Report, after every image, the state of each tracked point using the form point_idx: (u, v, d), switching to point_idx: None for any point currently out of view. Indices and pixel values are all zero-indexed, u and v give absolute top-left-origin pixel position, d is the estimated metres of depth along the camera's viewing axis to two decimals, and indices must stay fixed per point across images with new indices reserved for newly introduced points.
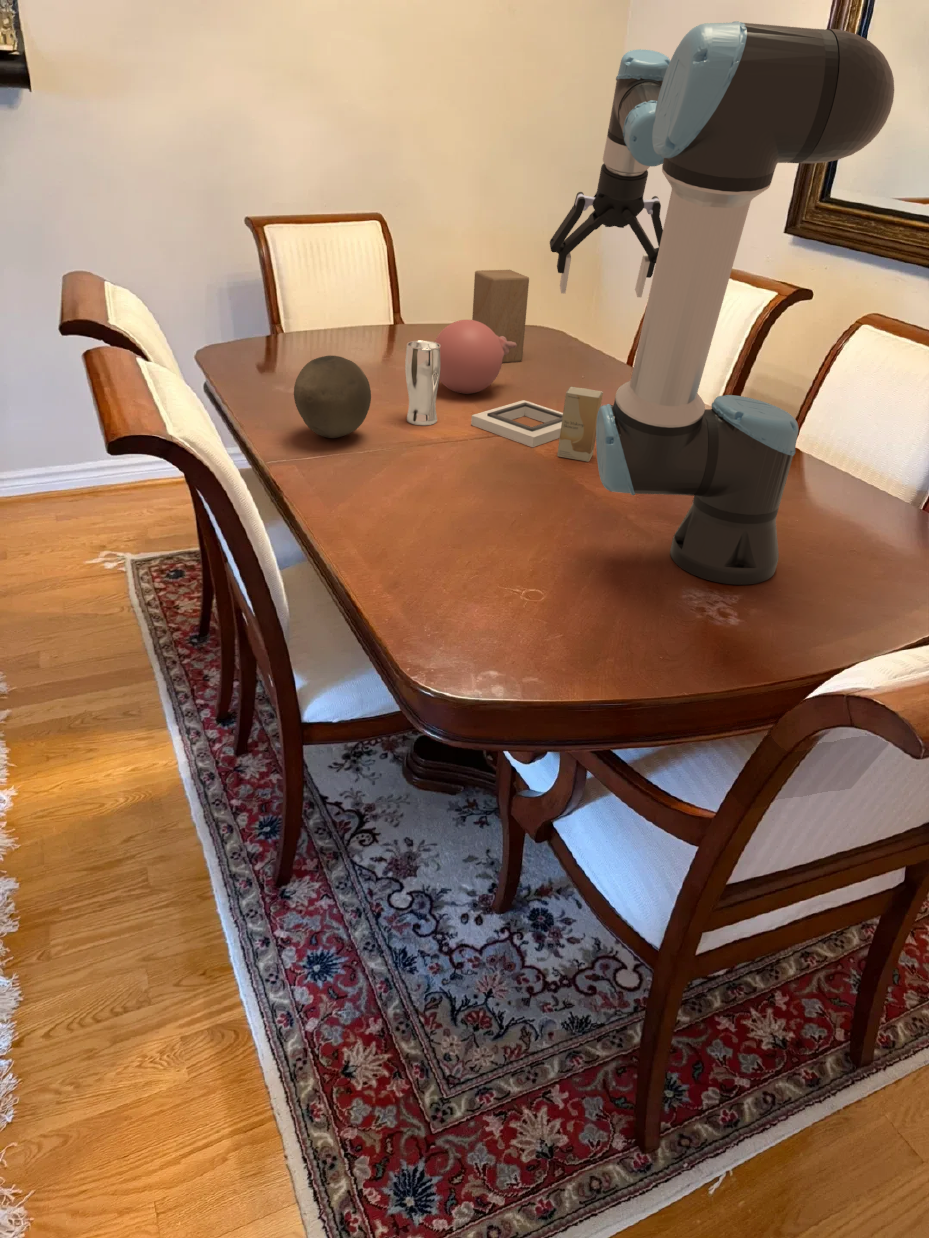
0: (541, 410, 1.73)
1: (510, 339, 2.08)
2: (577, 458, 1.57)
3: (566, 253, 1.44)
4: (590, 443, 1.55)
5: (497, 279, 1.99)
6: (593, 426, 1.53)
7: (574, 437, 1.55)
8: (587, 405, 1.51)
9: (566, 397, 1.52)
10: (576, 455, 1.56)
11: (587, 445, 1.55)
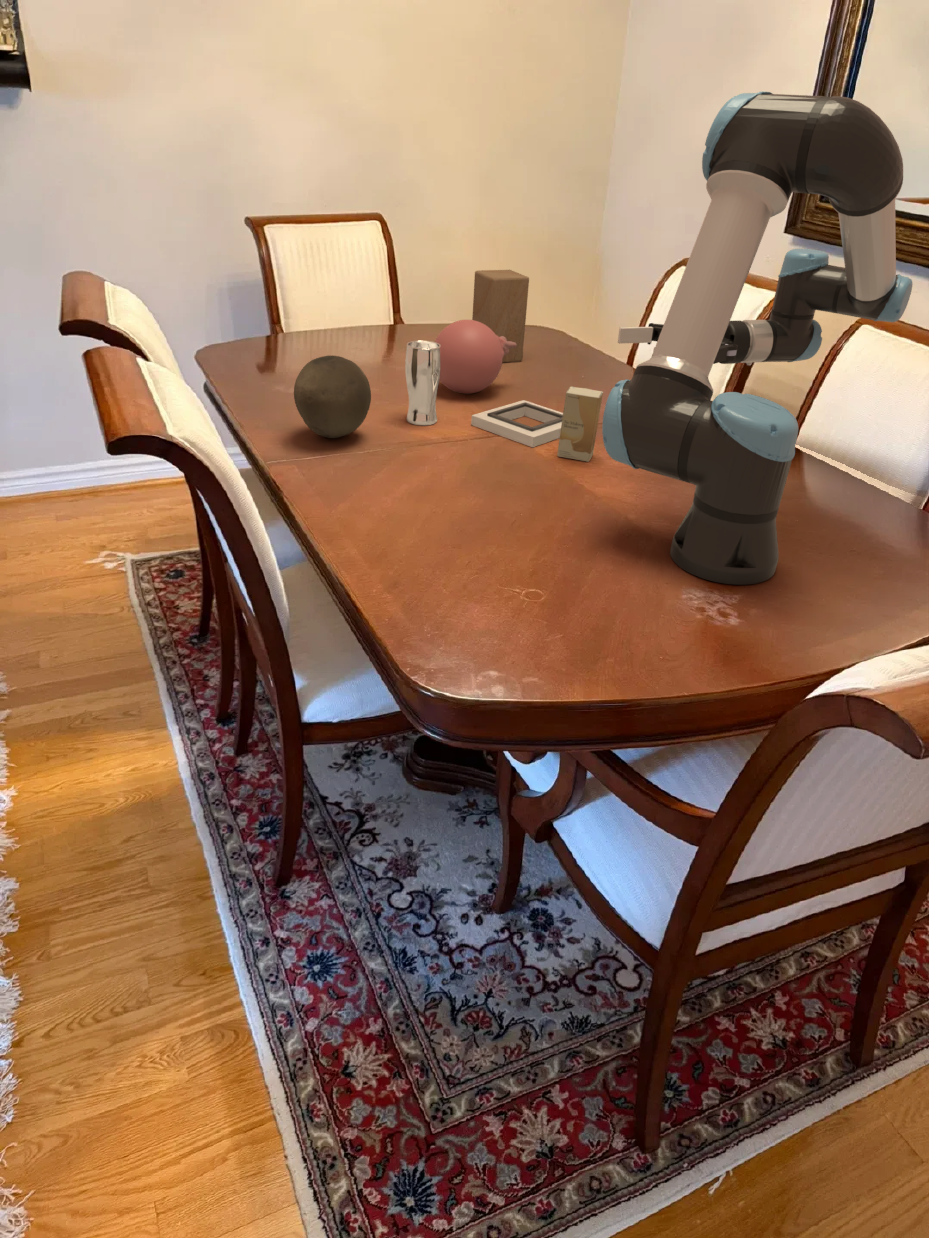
0: (541, 410, 1.73)
1: (510, 339, 2.08)
2: (577, 458, 1.57)
3: (654, 327, 1.58)
4: (590, 443, 1.55)
5: (497, 279, 1.99)
6: (593, 426, 1.53)
7: (574, 437, 1.55)
8: (587, 405, 1.51)
9: (566, 397, 1.52)
10: (576, 455, 1.56)
11: (587, 445, 1.55)
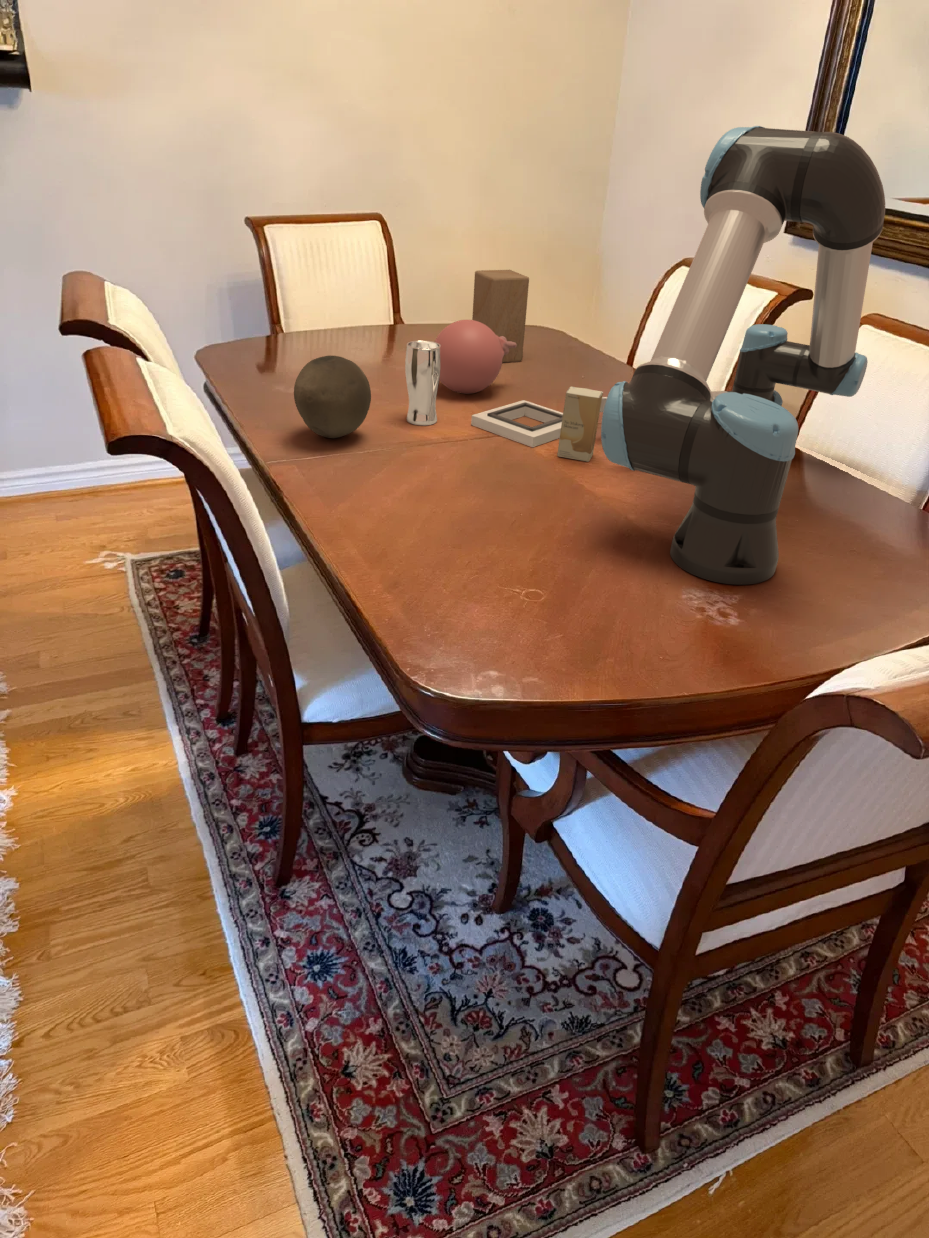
0: (541, 410, 1.73)
1: (510, 339, 2.08)
2: (577, 458, 1.57)
3: None
4: (590, 443, 1.55)
5: (497, 279, 1.99)
6: (593, 426, 1.53)
7: (574, 437, 1.55)
8: (587, 405, 1.51)
9: (566, 397, 1.52)
10: (576, 455, 1.56)
11: (587, 445, 1.55)
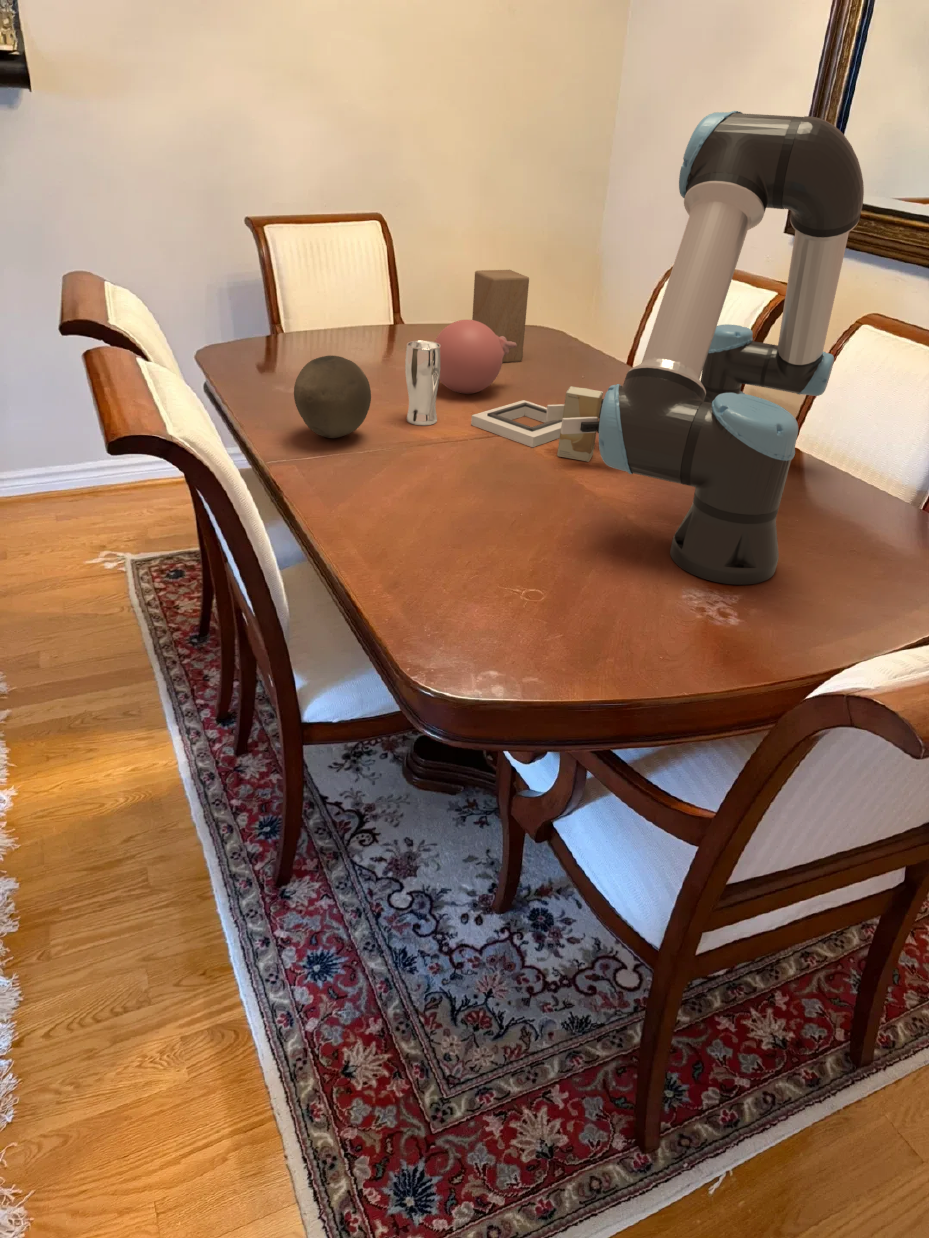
0: (541, 410, 1.73)
1: (510, 339, 2.08)
2: (577, 458, 1.57)
3: None
4: (590, 443, 1.55)
5: (497, 279, 1.99)
6: None
7: (574, 437, 1.55)
8: (587, 405, 1.51)
9: (566, 397, 1.52)
10: (576, 455, 1.56)
11: (587, 445, 1.55)
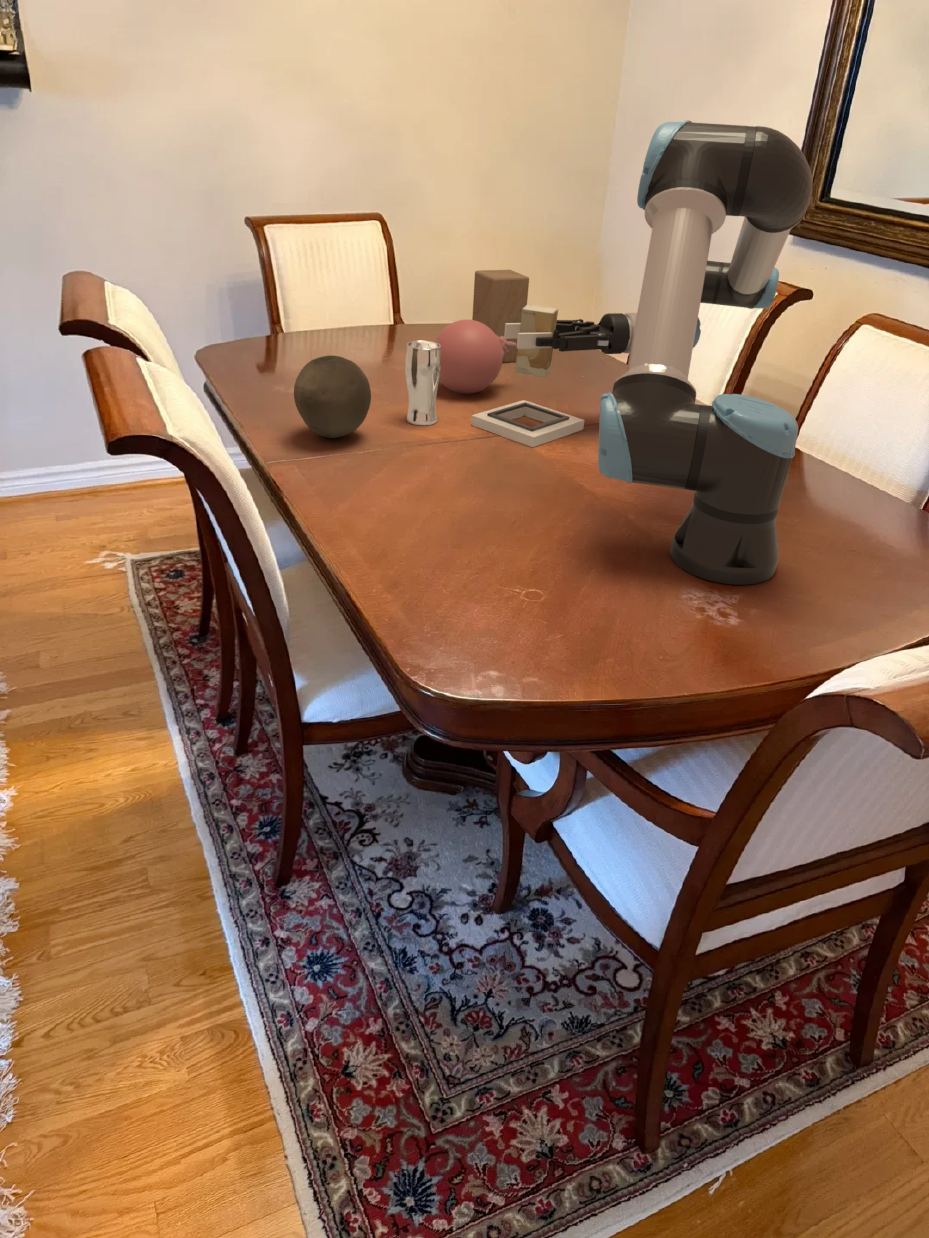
0: (541, 410, 1.73)
1: (510, 339, 2.08)
2: (534, 374, 1.63)
3: None
4: (546, 359, 1.61)
5: (497, 279, 1.99)
6: None
7: (530, 354, 1.62)
8: (542, 321, 1.58)
9: (522, 313, 1.58)
10: (533, 371, 1.63)
11: (543, 361, 1.62)
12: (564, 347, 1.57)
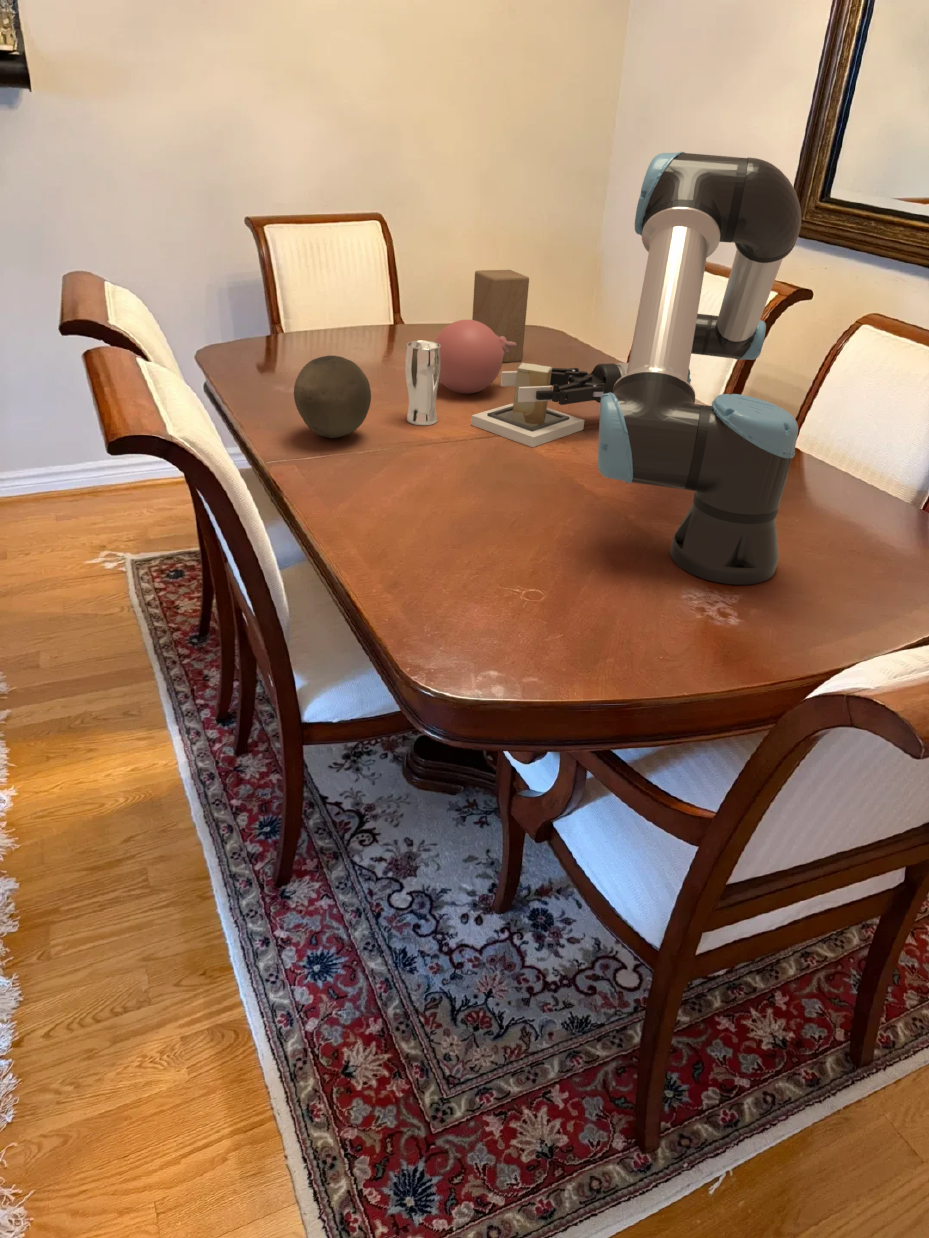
0: None
1: (510, 339, 2.08)
2: None
3: None
4: (541, 415, 1.67)
5: (497, 279, 1.99)
6: None
7: (525, 410, 1.67)
8: (537, 380, 1.63)
9: (518, 372, 1.64)
10: None
11: (538, 417, 1.67)
12: (564, 400, 1.61)
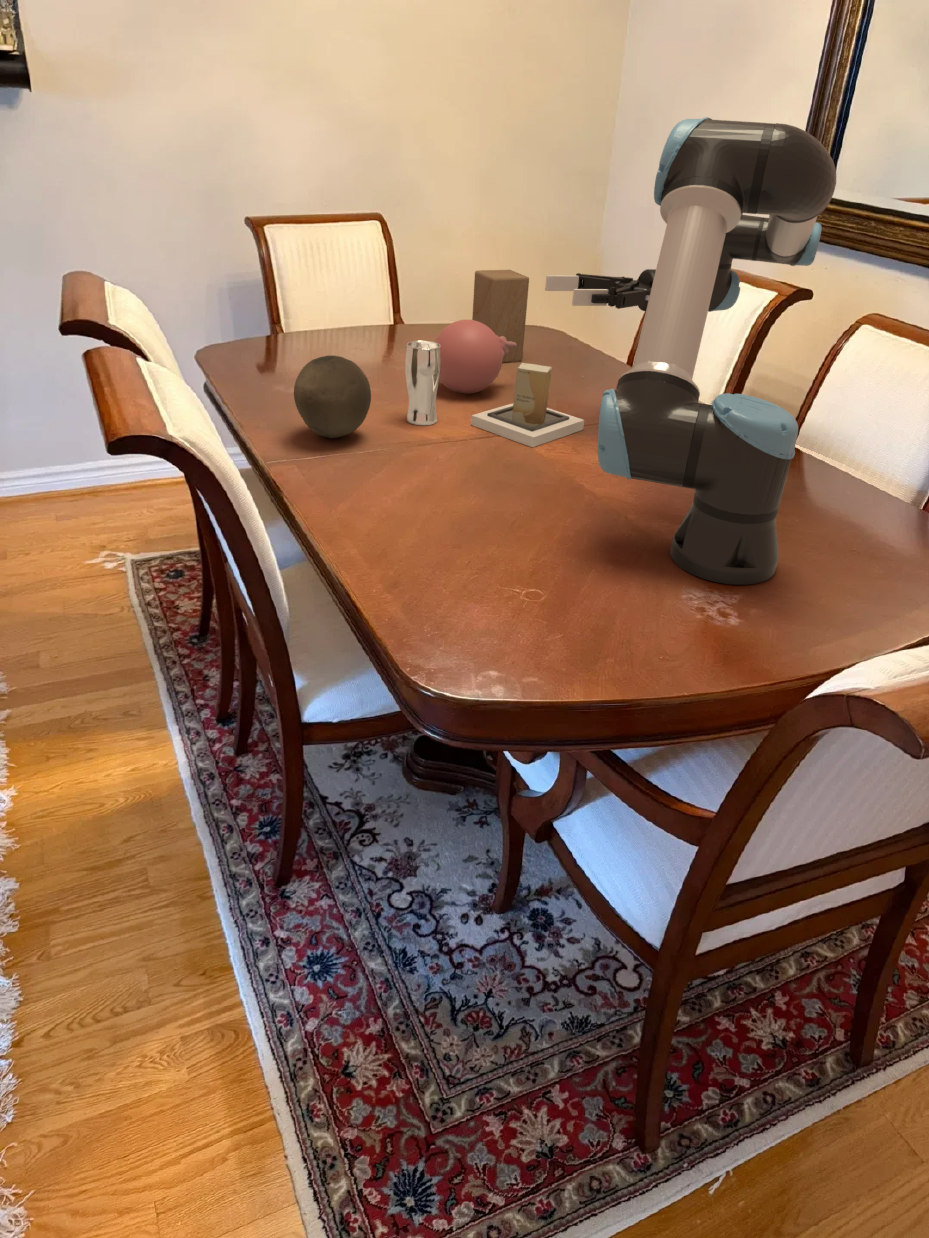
0: None
1: (510, 339, 2.08)
2: None
3: (580, 276, 1.66)
4: (541, 415, 1.67)
5: (497, 279, 1.99)
6: (543, 399, 1.65)
7: (525, 410, 1.67)
8: (537, 379, 1.63)
9: (517, 372, 1.64)
10: None
11: (538, 417, 1.67)
12: (622, 304, 1.53)
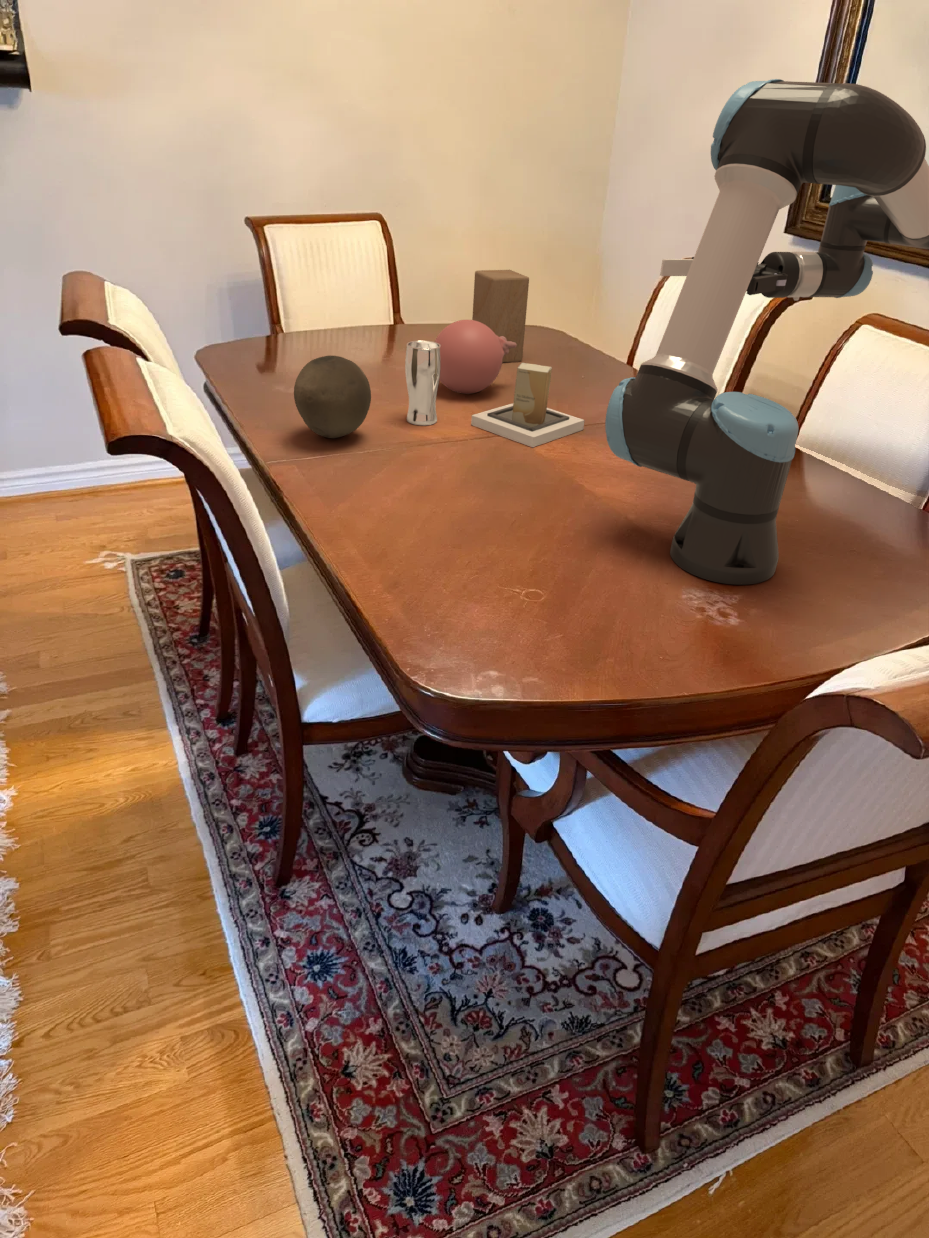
0: None
1: (510, 339, 2.08)
2: None
3: None
4: (541, 415, 1.67)
5: (497, 279, 1.99)
6: (543, 399, 1.65)
7: (525, 410, 1.67)
8: (537, 380, 1.63)
9: (517, 372, 1.64)
10: None
11: (538, 417, 1.67)
12: (754, 290, 1.39)
